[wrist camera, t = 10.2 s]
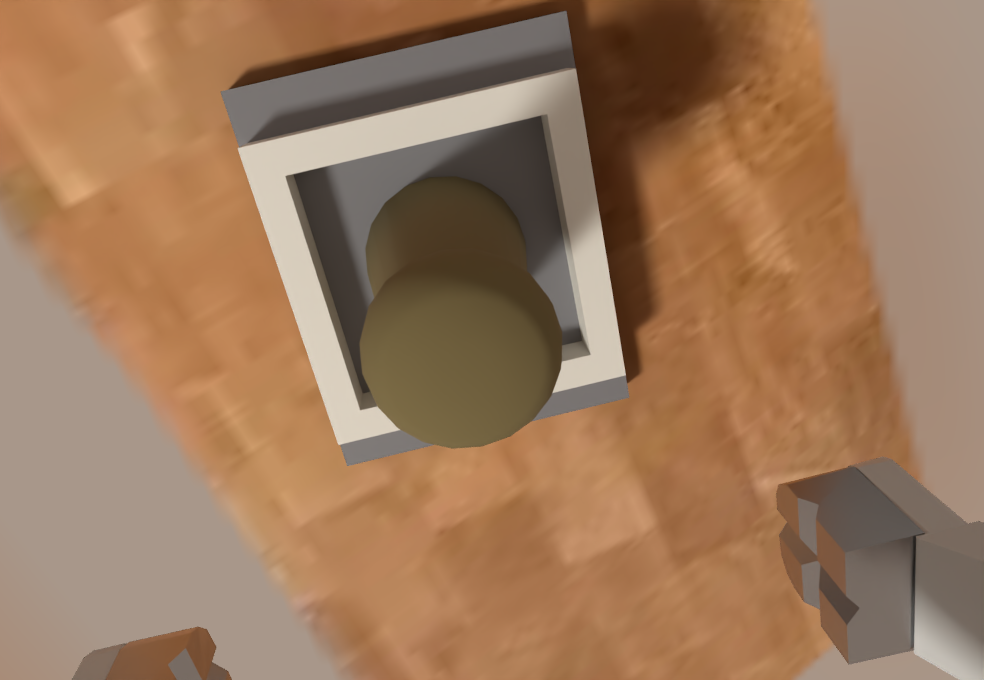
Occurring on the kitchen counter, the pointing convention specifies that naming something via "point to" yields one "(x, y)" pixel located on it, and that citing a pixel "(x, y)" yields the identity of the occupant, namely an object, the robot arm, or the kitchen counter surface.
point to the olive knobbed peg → (456, 317)
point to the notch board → (417, 156)
